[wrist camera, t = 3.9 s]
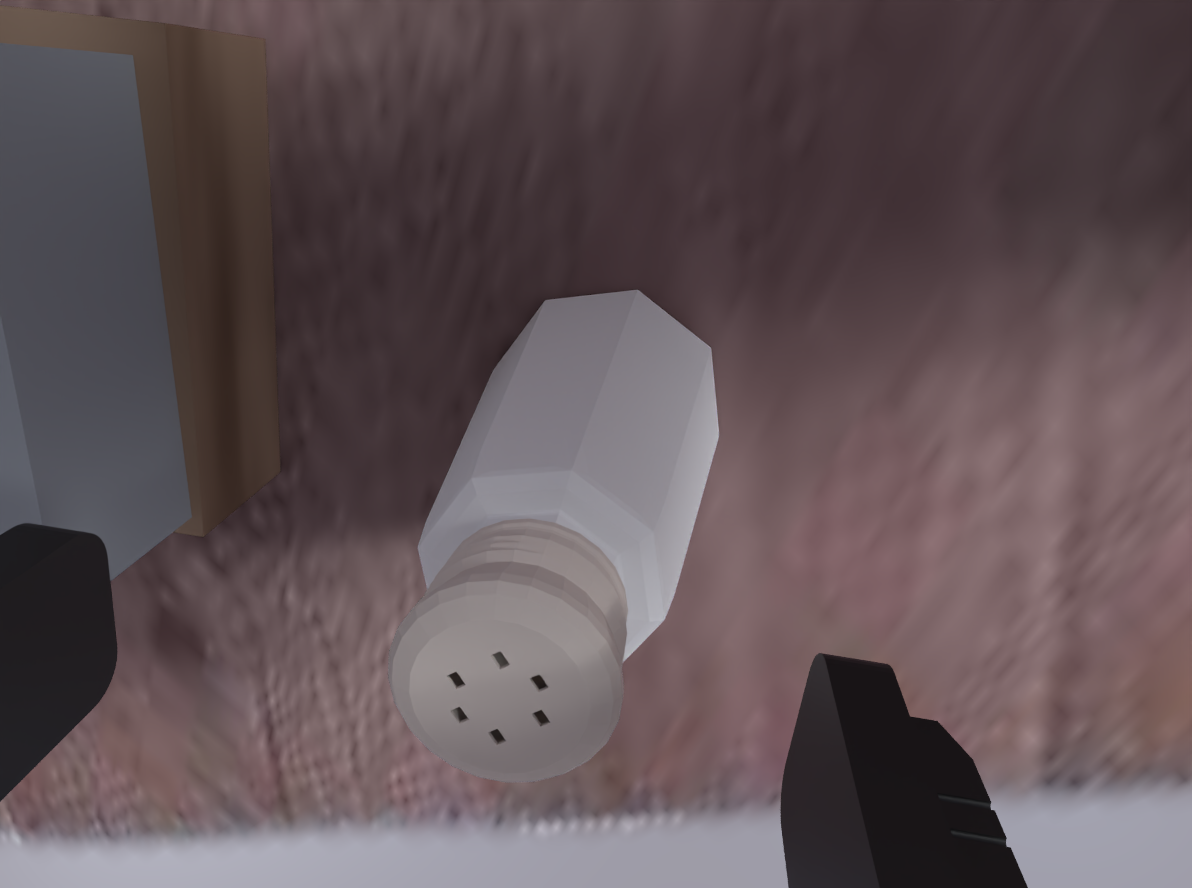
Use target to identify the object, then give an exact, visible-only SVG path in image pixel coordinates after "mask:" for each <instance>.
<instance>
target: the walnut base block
mask: <svg viewBox="0 0 1192 888" xmlns="http://www.w3.org/2000/svg"><path fill="white" fill-rule="evenodd" d="M0 43H7V44H17V45H28V46H39V47H50V48H61V49H72V50H83V51H93V52H104V53H115V54H126V55H133V60H134V67H135V75H136V83H137V91H138V99H139V107H140V114H141V122H142V130H143V138H144V146H145V154H146V161H147V169H148V177H149V185H150V193H151V200H152V208H153V216H154V224H155V232H156V240H157V247H158V255H159V263H160V271H161V279H162V287H163V294H164V302H165V310H166V318H167V326H168V333H169V341H170V349H171V357H172V365H173V373H174V380H175V388H176V396H177V404H178V412H179V419H180V427H181V435H182V443H183V451H184V459H185V466H186V474H187V482H188V490H189V498H190V506H191V513H192V518H190V519H189V520H188V521H186V522H185V523H184V524H183V525H181V526H180V527H179V528H178V529H176V530H175V531H174V533H180V534H187V535H193V536H200V537H204V536H205V535H206V534H208V533H209V532H210V531H211V530H212V529H214V528H215V527H216V526H217V525H218V524H220V523H221V522H222V521H223V520H224V519H225V518H227V517H228V516H229V515H230V514H231V513H233V512H234V511H235V510H236V509H237V508H239V507H240V506H241V505H242V504H243V503H244V502H246V501H247V500H248V499H249V498H250V497H252V496H253V495H254V494H255V493H256V492H258V491H259V490H260V489H261V488H262V487H263V486H265V485H266V484H267V483H268V482H269V481H271V480H272V479H273V478H274V477H275V476H277V475H278V474H279V473H280V472H281V469H280V441H279V413H278V385H277V357H276V329H275V301H274V273H273V245H272V217H271V189H270V161H269V133H268V105H267V77H266V49H265V39H262V38H256V37H249V36H243V35H236V34H230V33H224V32H217V31H211V30H205V29H198V28H192V27H185V26H179V25H173V24H166V23H158V22H149V21H139V20H130V19H121V18H112V17H103V16H93V15H84V14H75V13H66V12H57V11H48V10H38V9H29V8H20V7H11V6H2V5H0Z"/></svg>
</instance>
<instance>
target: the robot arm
mask: <svg viewBox="0 0 1192 888" xmlns="http://www.w3.org/2000/svg"><path fill="white" fill-rule="evenodd" d="M116 661H117V641H116V631H115V621H114V612H113V602H112V592H111V583H110V573H109V564H108V555H107V550H106V547H105V544H104V543H103V541H102V539H101V538H100V537H99V536H97V535H95V534H93V533H88V532H82V531H75V530H69V529H63V528H57V527H51V526H45V525H38V524H32V523H23V524H19V525H16V526H14V527H12V528H11V529H9V530H7V531H6V532H4V533H3V534H1V535H0V801H1V800H2V799H3V798H4V797H5V796H6V795H7V794H8V793H9V792H10V791H11V790H12V789H13V788H14V787H15V786H16V785H17V784H18V783H19V782H20V781H21V780H22V779H23V778H24V777H25V776H26V775H27V774H28V773H29V772H30V771H31V770H32V769H33V768H34V767H35V766H36V765H37V764H38V763H39V762H40V761H41V760H42V759H43V758H44V757H45V756H46V755H47V754H48V753H49V752H50V751H51V750H52V749H53V748H54V747H55V746H56V745H57V744H58V743H59V742H60V741H61V740H62V739H63V738H64V737H65V736H66V735H67V734H68V733H69V732H70V731H71V730H72V729H73V728H74V727H75V726H76V725H77V724H78V723H79V722H80V721H81V720H82V719H83V718H84V717H85V716H86V715H87V714H88V713H89V712H90V711H91V710H92V709H93V708H94V707H95V706H96V705H97V704H98V703H99V701H100V700H101V698H102V697H103V695H104V694H105V692H106V690H107V688H108V686H109V684H110V682H111V679H112V677H113V674H114V670H115V666H116ZM990 804H991V801H990V798H989V796H988V794H987V791H986V789H985V787H984V784H983V782H982V780H981V777H980V775H979V773H978V770H977V768H976V766H975V763H974V761H973V759H972V758H971V757H970V756H969V755H968V754H967V753H966V752H965V751H964V749H963V748H962V747H961V746H960V745H959V744H958V743H957V742H956V741H955V740H954V739H953V738H952V736H951V735H950V734H949V733H948V732H947V731H946V730H945V729H944V728H943V727H942V726H941V724H940V723H939V722H938V721H934V720H928V719H922V718H916V717H910V715H909V713H908V710H907V707H906V704H905V701H904V699H903V696H902V693H901V690H900V687H899V685H898V682H897V679H896V676H895V673H894V671H893V669H892V668H891V666H890V665H888V664H884V663H878V662H871V661H865V660H859V659H853V658H847V657H841V656H834V655H828V654H822V653H819V654H817V655H816V657H815V658H814V660H813V662H812V665H811V668H810V671H809V675H808V679H807V683H806V687H805V690H804V694H803V698H802V702H801V706H800V710H799V714H798V718H797V722H796V725H795V729H794V733H793V737H792V741H791V745H790V749H789V753H788V757H787V760H786V765H785V769H784V775H783V782H782V792H781V828H782V836H783V845H784V853H785V861H786V869H787V877H788V886H789V888H1028V887H1027V885H1026V883H1025V880H1024V878H1023V875H1022V873H1021V871H1020V869H1019V866H1018V864H1017V861H1016V859H1015V857H1014V855H1013V852H1012V850H1011V848H1010V847H1006V836H1005V833H1004V831H1003V829H1002V826H1001V824H1000V822H999V819H998V817H997V815H996V812H995V811H994V810H991V808H990Z"/></svg>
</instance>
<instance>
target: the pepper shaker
mask: <svg viewBox="0 0 1192 888" xmlns="http://www.w3.org/2000/svg"><path fill="white" fill-rule="evenodd" d="M718 438H719V427H718V416H717V405H716V394H715V383H714V373H713V362H712V351H711V347H709V346H708V345H707V344H706V343H704V342H703V341H702V340H701V339H699V338H698V337H697V336H696V335H694V334H693V333H692V332H691V331H689V330H688V329H687V328H686V327H684V326H683V325H682V324H680V323H679V322H678V321H677V320H675V319H674V318H673V317H672V316H670V315H669V314H668V313H667V312H665V311H664V310H663V309H662V308H660V307H659V306H658V305H657V304H655V303H654V302H653V301H651V300H650V299H649V298H648V297H646V296H645V295H644V294H643V293H641V292H640V291H639V290H630V291H621V292H612V293H603V294H595V295H586V296H577V297H568V298H559V299H550V300H545V301H544V302H543V304H542V305H541V306H540V308H539V309H538V311H537V312H536V313H535V315H534V316H533V317H532V319H531V320H530V321H529V323H528V324H527V325H526V327H525V328H524V329H523V331H522V332H521V333H520V335H519V336H518V337H517V339H516V340H515V341H514V343H513V344H512V345H511V347H510V348H509V349H508V351H507V352H506V353H505V355H504V356H503V357H502V359H501V360H500V361H499V363H498V364H497V365H496V367H495V368H494V369H493V372H492V374H491V376H490V378H489V381H488V383H487V385H486V387H485V390H484V392H483V394H482V396H481V399H480V401H479V403H478V405H477V408H476V410H475V412H474V414H473V417H472V419H471V421H470V423H469V426H468V428H467V430H466V432H465V435H464V437H463V439H462V441H461V444H460V446H459V448H458V450H457V453H456V455H455V457H454V459H453V462H452V464H451V466H450V468H449V471H448V473H447V475H446V477H445V480H444V482H443V484H442V486H441V489H440V491H439V493H438V495H437V498H436V500H435V502H434V504H433V507H432V509H431V511H430V513H429V516H428V518H427V520H426V523H425V526H424V529H423V532H422V535H421V538H420V541H419V544H418V552H419V556H420V560H421V564H422V569H423V573H424V577H425V582H426V586H427V591H426V592H425V595H424V597H422V598H421V599H420V600H419V601H418V603H417V604H416V605H415V606H414V608H413V609H412V610H411V611H410V613H409V614H408V615H407V616H406V617H405V619H404V620H403V621H402V623H401V624H400V625H399V627H398V629H397V631H396V634H395V637H394V639H393V642H392V645H391V647H390V650H389V663H388V679H389V683H390V687H391V691H392V695H393V699H394V703H395V704H396V706H397V708H398V710H399V711H400V713H401V715H402V717H403V718H404V720H405V722H406V724H407V725H408V727H409V729H410V730H411V732H412V733H413V734H414V735H415V736H416V737H417V738H418V739H419V740H420V741H421V742H422V743H423V744H424V745H425V746H426V748H427V749H428V750H429V751H431V752H432V753H434V754H435V755H437V756H438V757H439V758H441V759H442V760H444V761H445V762H447V763H448V764H450V765H451V766H453V767H455V768H458V769H460V770H462V771H465V772H467V773H470V774H472V775H475V776H477V777H480V778H486V779H491V780H496V781H501V782H535V781H539V780H543V779H547V778H551V777H555V776H559V775H562V774H565V773H567V772H569V771H571V770H572V769H574V768H576V767H578V766H580V765H582V764H584V763H585V762H587V761H589V760H590V759H591V758H592V757H593V756H594V755H595V754H596V753H597V752H598V751H599V750H600V749H601V748H602V747H603V746H604V745H605V744H606V743H607V742H608V740H609V738H610V736H611V734H612V733H613V731H614V729H615V727H616V725H617V723H618V721H619V718H620V712H621V706H622V700H623V692H624V680H623V674H622V665H623V662H624V661H625V660H626V659H627V658H628V657H629V656H630V655H631V654H632V653H633V652H634V651H635V650H636V649H637V648H638V647H639V646H640V645H641V644H642V643H643V642H644V640H645V639H646V638H647V637H648V636H649V635H650V634H651V633H652V632H653V631H654V630H655V629H656V628H657V627H658V626H659V625H660V624H661V623H662V622H663V621H664V620H665V617H666V615H667V612H668V610H669V607H670V605H671V602H672V600H673V597H674V595H675V591H676V587H677V584H678V580H679V577H680V573H681V570H682V566H683V563H684V559H685V555H686V552H687V548H688V545H689V541H690V538H691V534H692V531H693V527H694V523H695V520H696V516H697V513H698V509H699V506H700V502H701V499H702V495H703V492H704V488H705V484H706V481H707V477H708V474H709V470H710V467H711V463H712V460H713V456H714V452H715V449H716V445H717V442H718Z"/></svg>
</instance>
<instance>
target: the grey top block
mask: <svg viewBox="0 0 1192 888" xmlns="http://www.w3.org/2000/svg"><path fill="white" fill-rule="evenodd" d="M190 518H192V513H191V506H190V498H189V490H188V482H187V474H186V466H185V459H184V451H183V443H182V435H181V427H180V419H179V412H178V404H177V396H176V388H175V380H174V373H173V365H172V357H171V349H170V341H169V333H168V326H167V318H166V310H165V302H164V294H163V287H162V279H161V271H160V263H159V255H158V247H157V240H156V232H155V224H154V216H153V208H152V200H151V193H150V185H149V177H148V169H147V161H146V154H145V146H144V138H143V130H142V122H141V114H140V107H139V99H138V91H137V83H136V75H135V67H134V60H133V55H126V54H115V53H104V52H93V51H83V50H72V49H61V48H50V47H39V46H28V45H17V44H7V43H0V535H1V534H3V533H4V532H6V531H7V530H9V529H11V528H12V527H14V526H16V525H19V524H23V523H32V524H38V525H45V526H51V527H57V528H63V529H69V530H75V531H82V532H88V533H93V534H95V535H97V536H99V537H100V538H101V539H102V541H103V543H104V544H105V547H106V550H107V555H108V564H109V573H110V581H112V580H113V579H114V578H115V577H117V576H118V575H119V574H120V573H122V572H123V571H124V570H126V569H127V568H128V567H129V566H131V565H132V564H133V563H134V562H136V561H137V560H138V559H139V558H141V557H142V556H143V555H145V554H146V553H147V552H148V551H150V550H151V549H152V548H153V547H155V546H156V545H157V544H159V543H160V542H161V541H162V540H164V539H165V538H166V537H167V536H169V535H170V534H171V533H172V532H174V531H175V530H176V529H178V528H179V527H180V526H181V525H183V524H184V523H185V522H186V521H188V520H189V519H190Z"/></svg>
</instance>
